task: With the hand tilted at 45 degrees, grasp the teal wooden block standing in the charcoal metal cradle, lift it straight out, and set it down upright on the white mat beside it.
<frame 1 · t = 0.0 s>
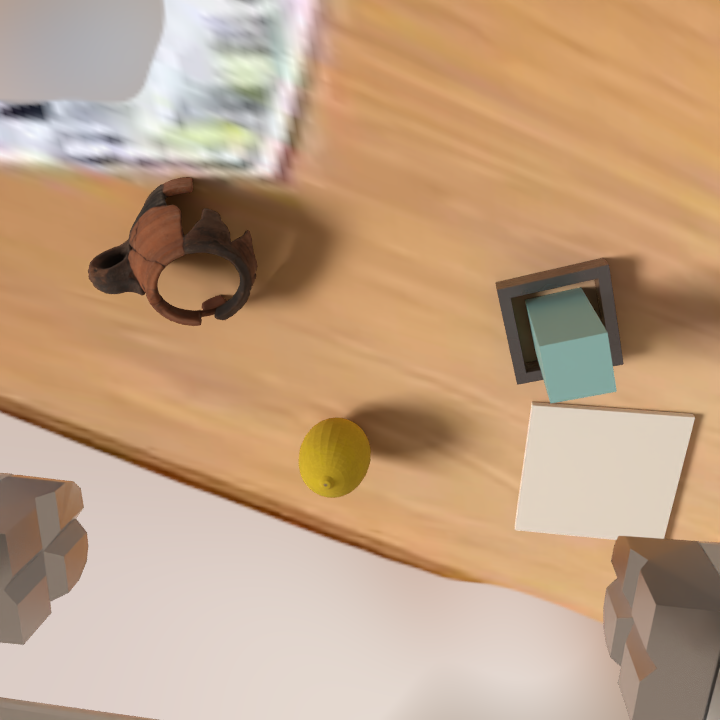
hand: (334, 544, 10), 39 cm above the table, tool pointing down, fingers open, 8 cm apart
pottery mug: (190, 245, 50), on the table
teal block: (566, 341, 44), in the metal cradle
white mat: (598, 473, 52), on the table
lemon: (343, 429, 54), on the table
metal cradle: (557, 318, 48), on the table
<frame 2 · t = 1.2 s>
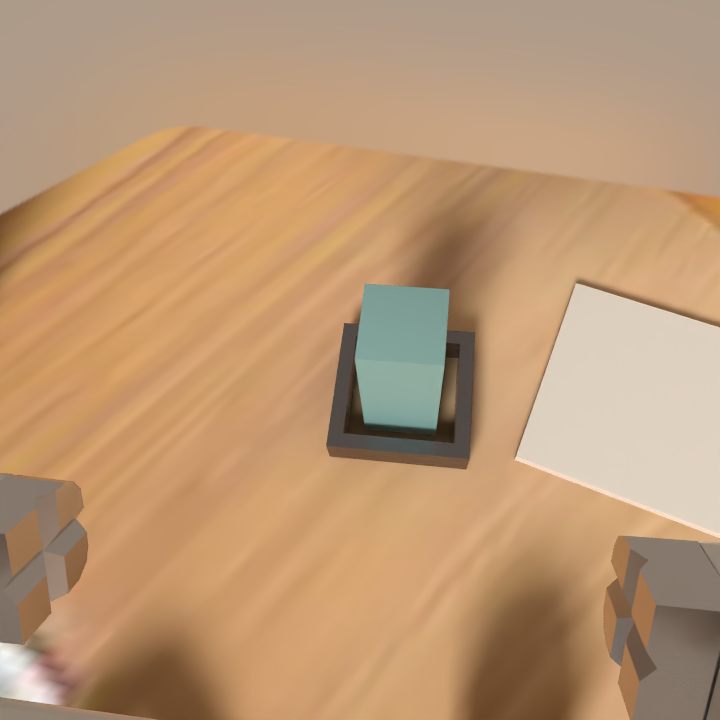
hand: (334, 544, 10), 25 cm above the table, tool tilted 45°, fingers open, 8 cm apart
teal block: (403, 366, 34), in the metal cradle
white mat: (649, 404, 37), on the table
metal cradle: (403, 399, 38), on the table
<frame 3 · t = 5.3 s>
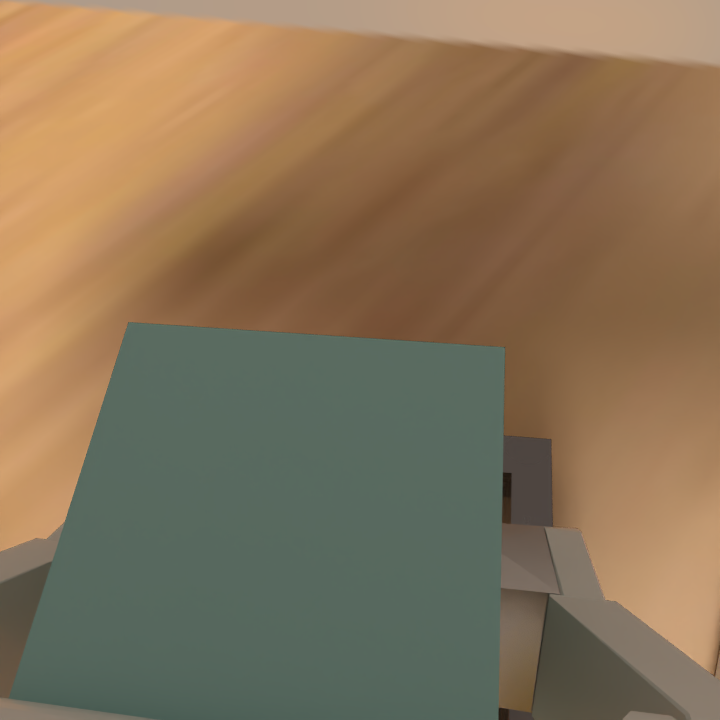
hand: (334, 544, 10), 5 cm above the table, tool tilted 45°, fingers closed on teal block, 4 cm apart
teal block: (332, 593, 10), in the metal cradle, touching gripper
metal cradle: (356, 621, 14), on the table
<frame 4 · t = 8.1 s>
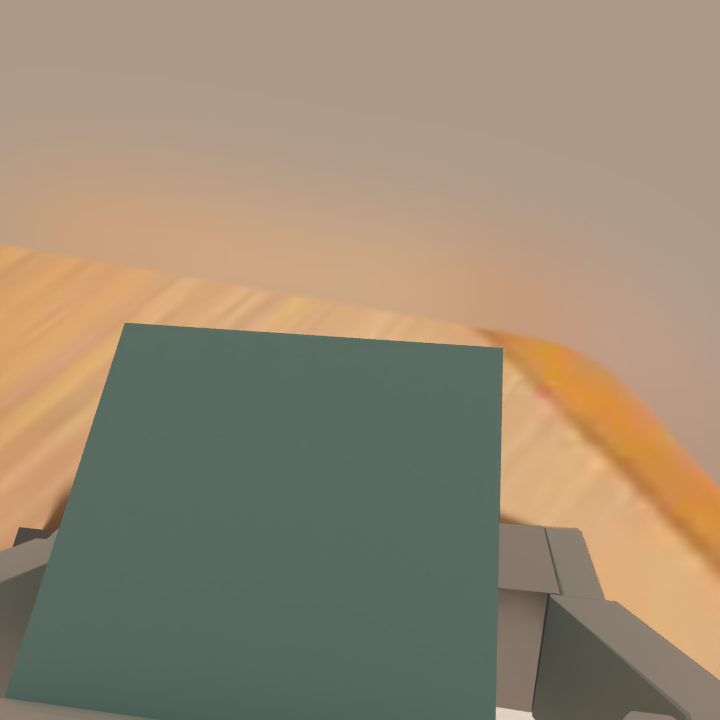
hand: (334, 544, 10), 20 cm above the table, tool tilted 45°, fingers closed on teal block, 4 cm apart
teal block: (330, 594, 10), point 20 cm above the table, touching gripper
white mat: (407, 643, 28), on the table
metal cradle: (92, 630, 29), on the table
when the fingers open (7 cm above the table, at t = 11.0 s): teal block drops 1 cm, resting on white mat.
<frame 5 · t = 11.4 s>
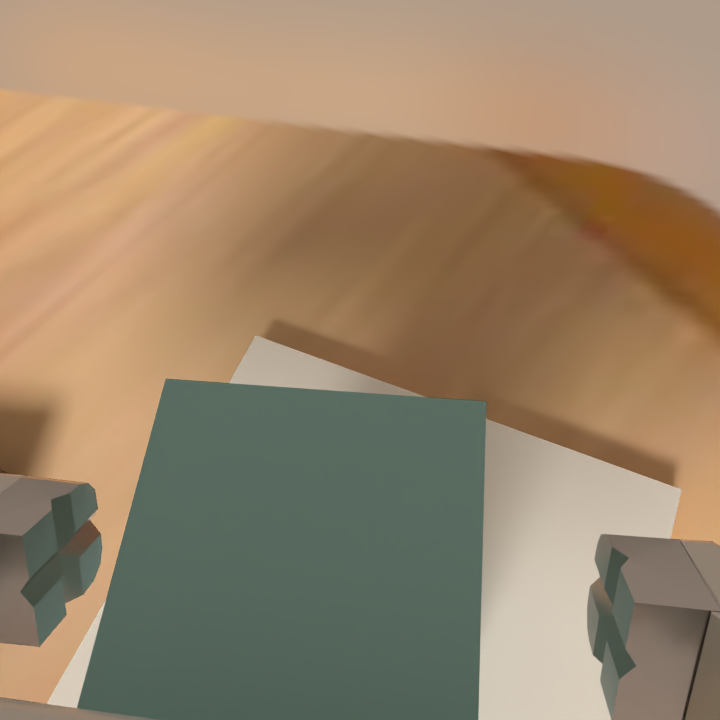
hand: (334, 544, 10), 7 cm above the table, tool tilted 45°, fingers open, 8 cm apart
teal block: (339, 604, 11), on the white mat, point 5 cm above the table
white mat: (363, 629, 16), on the table
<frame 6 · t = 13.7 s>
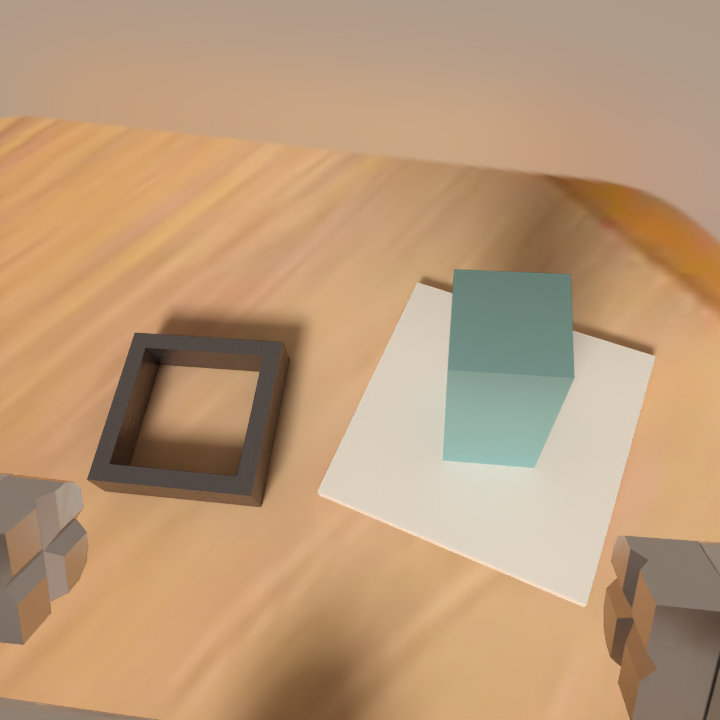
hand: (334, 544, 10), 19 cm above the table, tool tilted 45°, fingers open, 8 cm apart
teal block: (498, 379, 26), on the white mat, point 5 cm above the table
white mat: (489, 427, 30), on the table
metal cradle: (200, 422, 32), on the table
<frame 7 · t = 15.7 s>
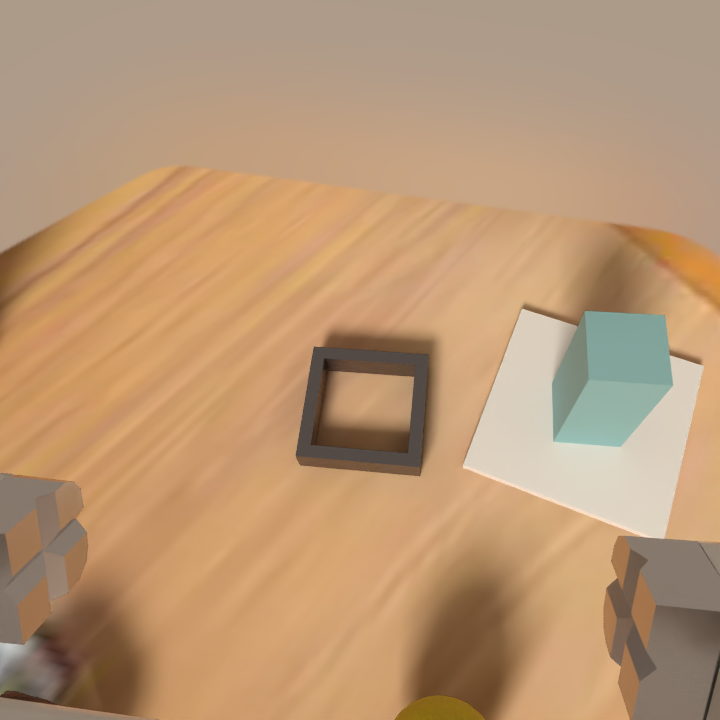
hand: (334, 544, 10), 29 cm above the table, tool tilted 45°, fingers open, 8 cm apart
teal block: (604, 384, 37), on the white mat, point 5 cm above the table
white mat: (584, 417, 41), on the table
metal cradle: (366, 414, 42), on the table
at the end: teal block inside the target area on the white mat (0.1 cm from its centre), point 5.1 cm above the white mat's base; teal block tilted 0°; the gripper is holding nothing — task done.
